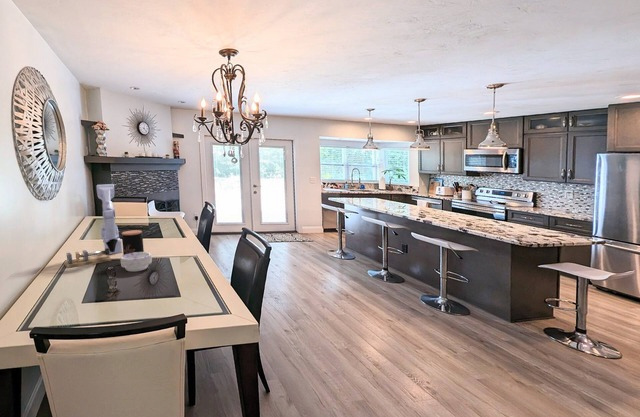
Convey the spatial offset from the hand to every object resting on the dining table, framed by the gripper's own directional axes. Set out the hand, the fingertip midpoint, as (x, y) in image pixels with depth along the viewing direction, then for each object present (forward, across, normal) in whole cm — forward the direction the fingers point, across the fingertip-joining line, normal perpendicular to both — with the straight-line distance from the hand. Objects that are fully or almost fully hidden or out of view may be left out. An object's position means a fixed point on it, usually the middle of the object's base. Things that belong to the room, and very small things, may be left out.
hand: (112, 251), depth 238 cm
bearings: (+2, +12, -14) cm, 18 cm away
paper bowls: (+4, +25, +26) cm, 36 cm away
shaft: (+1, +6, -8) cm, 10 cm away
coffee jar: (+4, +11, +18) cm, 22 cm away
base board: (+4, +8, -10) cm, 14 cm away
